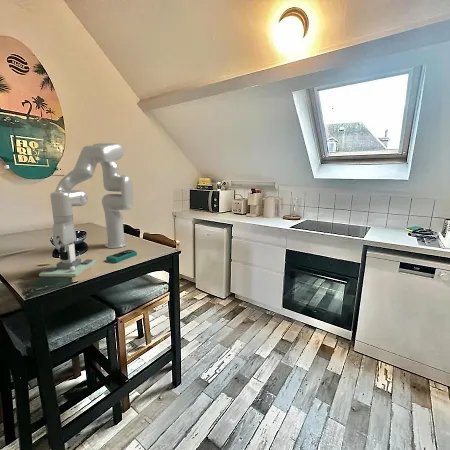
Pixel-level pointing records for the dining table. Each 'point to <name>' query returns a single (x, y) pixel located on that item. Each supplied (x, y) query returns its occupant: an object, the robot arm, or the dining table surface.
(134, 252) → the digital multimeter
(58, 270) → the board
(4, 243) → the dining table surface
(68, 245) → the plug
